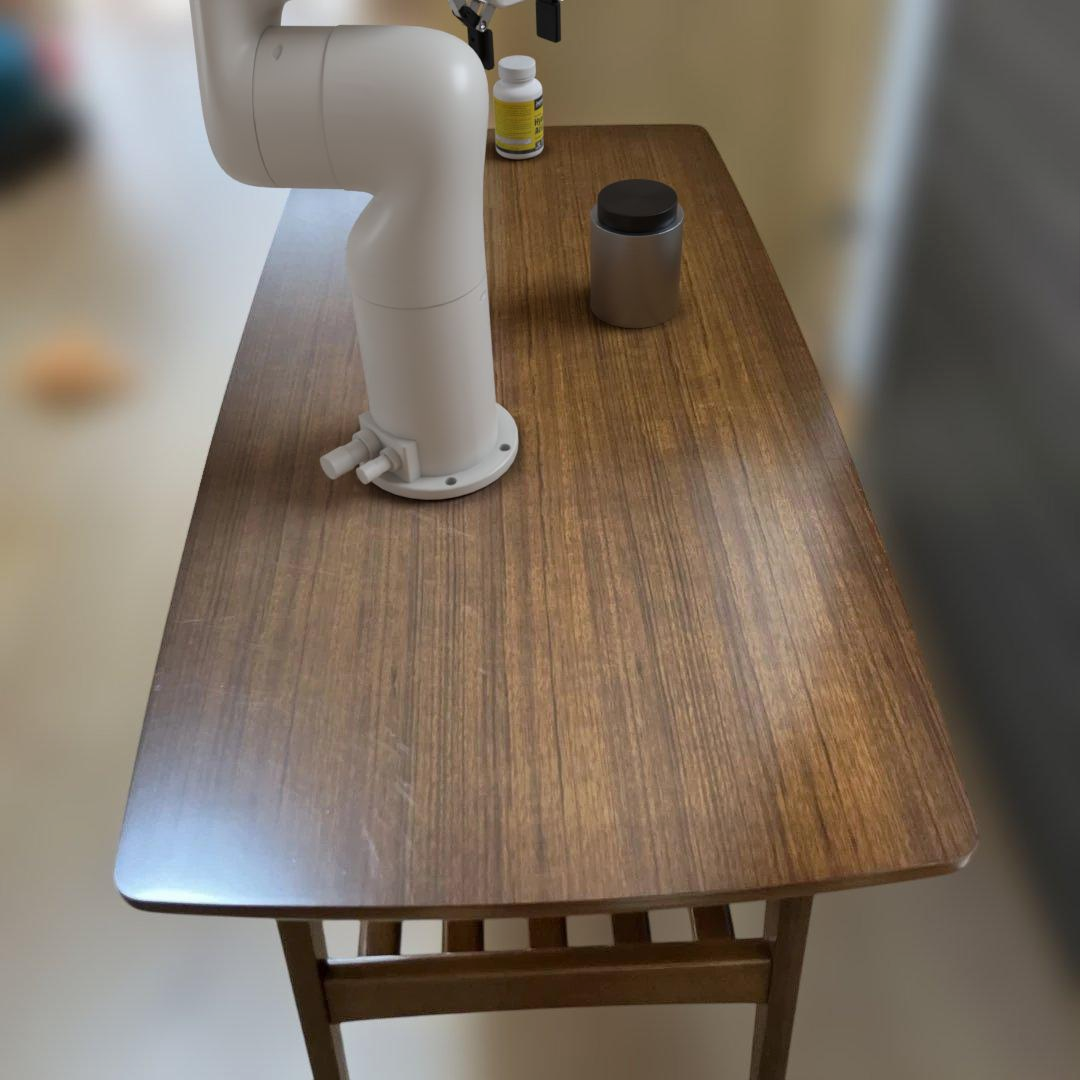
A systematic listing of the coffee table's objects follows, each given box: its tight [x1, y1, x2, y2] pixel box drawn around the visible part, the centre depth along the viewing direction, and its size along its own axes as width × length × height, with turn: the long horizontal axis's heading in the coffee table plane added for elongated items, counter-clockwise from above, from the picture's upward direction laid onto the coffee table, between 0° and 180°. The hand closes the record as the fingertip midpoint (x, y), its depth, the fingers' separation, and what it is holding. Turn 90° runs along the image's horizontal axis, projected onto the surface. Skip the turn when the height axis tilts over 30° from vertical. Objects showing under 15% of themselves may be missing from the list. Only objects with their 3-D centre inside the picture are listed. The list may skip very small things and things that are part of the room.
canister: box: [589, 178, 685, 329], centre depth 98 cm, size 8×8×10 cm
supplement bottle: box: [492, 54, 545, 160], centre depth 123 cm, size 5×5×10 cm
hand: (516, 52), depth 119 cm, fingers open, 9 cm apart
